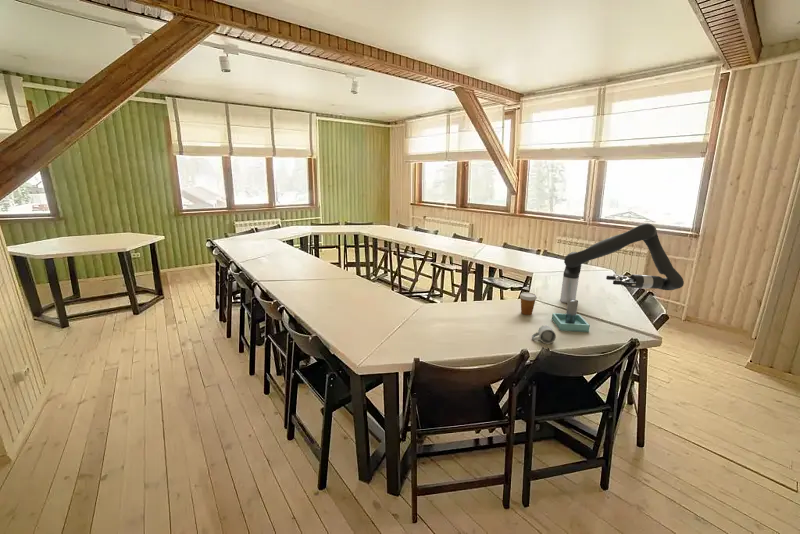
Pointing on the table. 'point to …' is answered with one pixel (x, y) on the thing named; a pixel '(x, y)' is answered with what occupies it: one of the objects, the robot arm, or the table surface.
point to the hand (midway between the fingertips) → (609, 279)
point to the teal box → (578, 326)
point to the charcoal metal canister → (571, 311)
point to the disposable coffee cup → (527, 303)
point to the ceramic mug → (545, 334)
